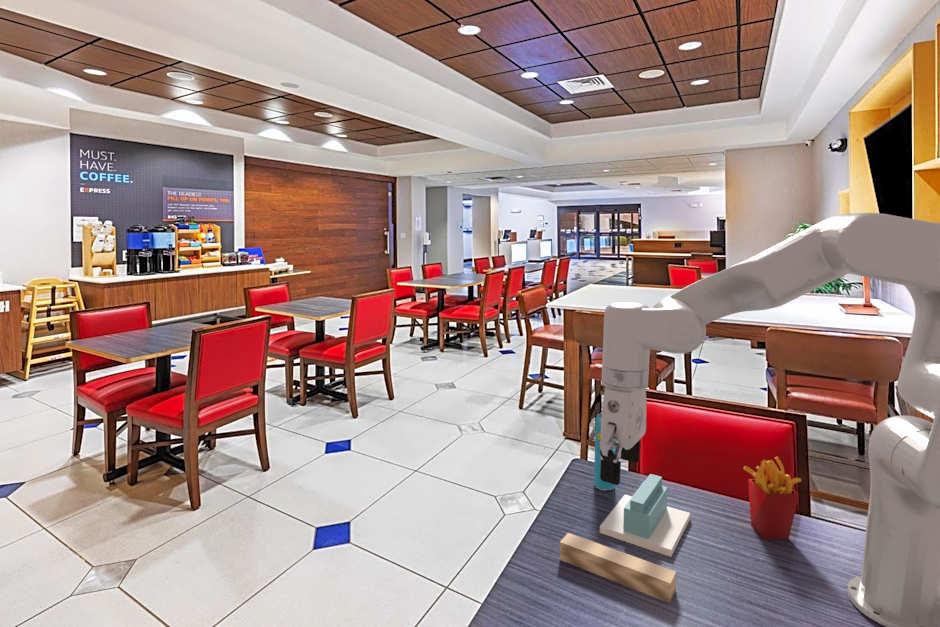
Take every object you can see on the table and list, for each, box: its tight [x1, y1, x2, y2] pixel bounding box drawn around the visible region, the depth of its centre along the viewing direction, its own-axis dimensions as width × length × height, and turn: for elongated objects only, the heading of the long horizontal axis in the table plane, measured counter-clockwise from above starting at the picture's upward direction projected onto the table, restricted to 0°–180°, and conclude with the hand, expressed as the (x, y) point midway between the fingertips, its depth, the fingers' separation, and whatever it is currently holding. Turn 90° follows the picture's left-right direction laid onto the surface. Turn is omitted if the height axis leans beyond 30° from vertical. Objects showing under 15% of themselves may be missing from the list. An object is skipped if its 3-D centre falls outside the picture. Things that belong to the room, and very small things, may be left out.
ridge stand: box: [599, 473, 691, 558], centre depth 104 cm, size 14×15×8 cm
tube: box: [593, 412, 617, 490], centre depth 120 cm, size 8×5×19 cm, turn 134°
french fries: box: [743, 456, 802, 540], centre depth 102 cm, size 9×8×15 cm
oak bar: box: [559, 532, 677, 604], centre depth 90 cm, size 20×4×4 cm, turn 54°
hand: (620, 470), depth 88 cm, fingers open, 9 cm apart
